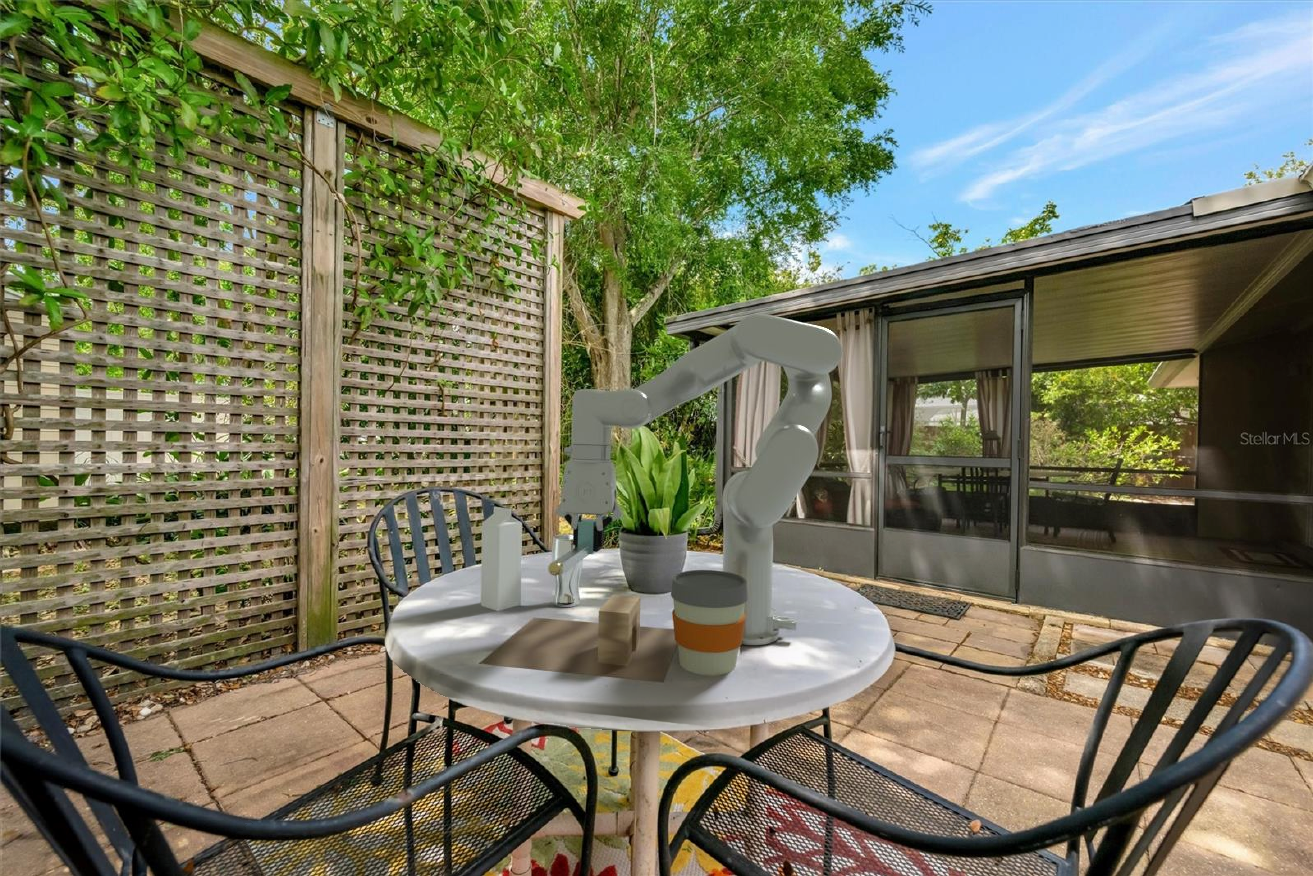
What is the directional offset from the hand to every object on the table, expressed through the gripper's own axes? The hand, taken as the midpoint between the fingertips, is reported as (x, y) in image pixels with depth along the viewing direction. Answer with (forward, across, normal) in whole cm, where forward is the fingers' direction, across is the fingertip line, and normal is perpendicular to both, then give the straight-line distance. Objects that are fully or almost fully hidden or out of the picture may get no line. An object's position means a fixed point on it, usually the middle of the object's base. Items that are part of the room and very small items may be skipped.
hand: (588, 548), depth 106 cm
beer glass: (+17, -10, +17) cm, 25 cm away
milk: (+17, -22, +9) cm, 29 cm away
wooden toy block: (+15, +9, -11) cm, 21 cm away
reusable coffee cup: (+16, +24, -11) cm, 31 cm away
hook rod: (+1, 0, -9) cm, 9 cm away
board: (+16, +3, -9) cm, 19 cm away
